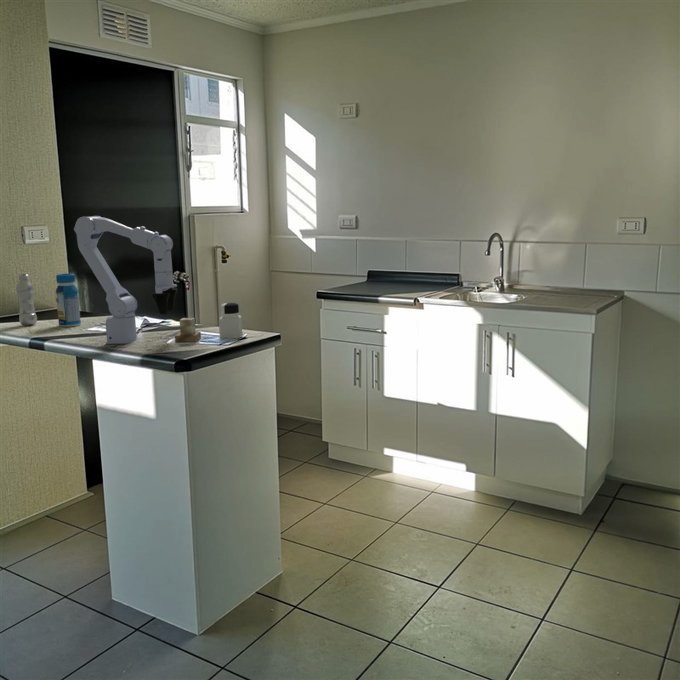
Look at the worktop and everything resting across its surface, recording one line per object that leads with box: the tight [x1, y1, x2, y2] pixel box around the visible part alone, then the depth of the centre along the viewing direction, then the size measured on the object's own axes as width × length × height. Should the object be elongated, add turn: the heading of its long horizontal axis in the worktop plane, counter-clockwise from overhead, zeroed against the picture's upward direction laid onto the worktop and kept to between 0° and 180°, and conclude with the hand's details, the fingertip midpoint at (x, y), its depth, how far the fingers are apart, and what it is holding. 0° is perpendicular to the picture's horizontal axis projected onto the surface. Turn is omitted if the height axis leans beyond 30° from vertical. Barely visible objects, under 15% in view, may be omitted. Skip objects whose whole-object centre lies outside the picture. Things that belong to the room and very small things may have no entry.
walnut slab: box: [174, 331, 202, 343], centre depth 243 cm, size 7×7×2 cm
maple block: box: [179, 317, 196, 335], centre depth 243 cm, size 4×4×5 cm
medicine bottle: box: [218, 302, 243, 339], centre depth 250 cm, size 7×7×12 cm
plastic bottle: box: [15, 273, 38, 327], centre depth 281 cm, size 6×7×20 cm
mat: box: [167, 336, 206, 345], centre depth 243 cm, size 10×12×1 cm
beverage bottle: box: [55, 273, 82, 328], centre depth 279 cm, size 8×8×20 cm
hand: (166, 312), depth 242 cm, fingers open, 7 cm apart
